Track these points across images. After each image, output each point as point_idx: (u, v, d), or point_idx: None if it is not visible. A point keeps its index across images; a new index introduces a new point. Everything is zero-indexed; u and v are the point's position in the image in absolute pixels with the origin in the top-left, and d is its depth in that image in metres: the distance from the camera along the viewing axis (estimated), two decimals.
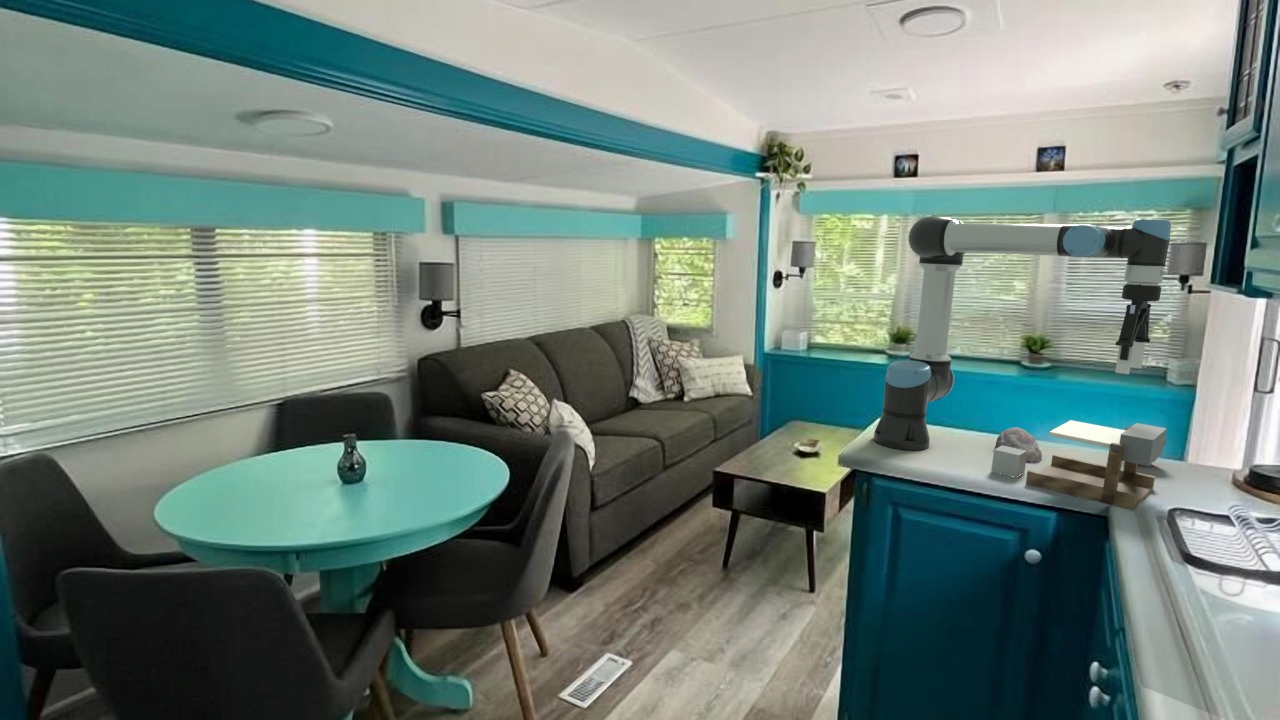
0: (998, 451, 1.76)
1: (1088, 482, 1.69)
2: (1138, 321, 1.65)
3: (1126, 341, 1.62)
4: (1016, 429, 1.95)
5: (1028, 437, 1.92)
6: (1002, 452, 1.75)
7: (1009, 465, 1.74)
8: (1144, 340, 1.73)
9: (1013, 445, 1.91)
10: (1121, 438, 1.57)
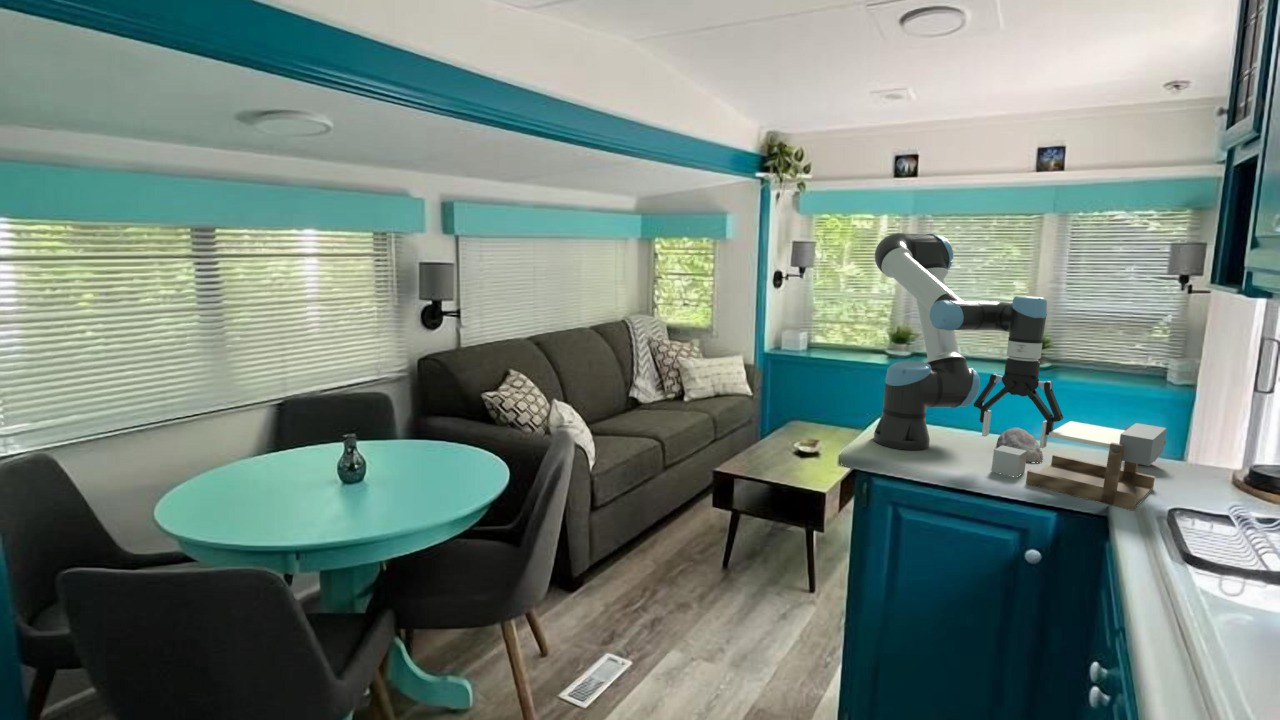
0: (998, 451, 1.76)
1: (1088, 482, 1.69)
2: None
3: None
4: (1017, 430, 1.95)
5: (1029, 438, 1.91)
6: (1002, 452, 1.75)
7: (1009, 465, 1.74)
8: (1046, 420, 1.69)
9: (1014, 445, 1.90)
10: (1121, 438, 1.57)
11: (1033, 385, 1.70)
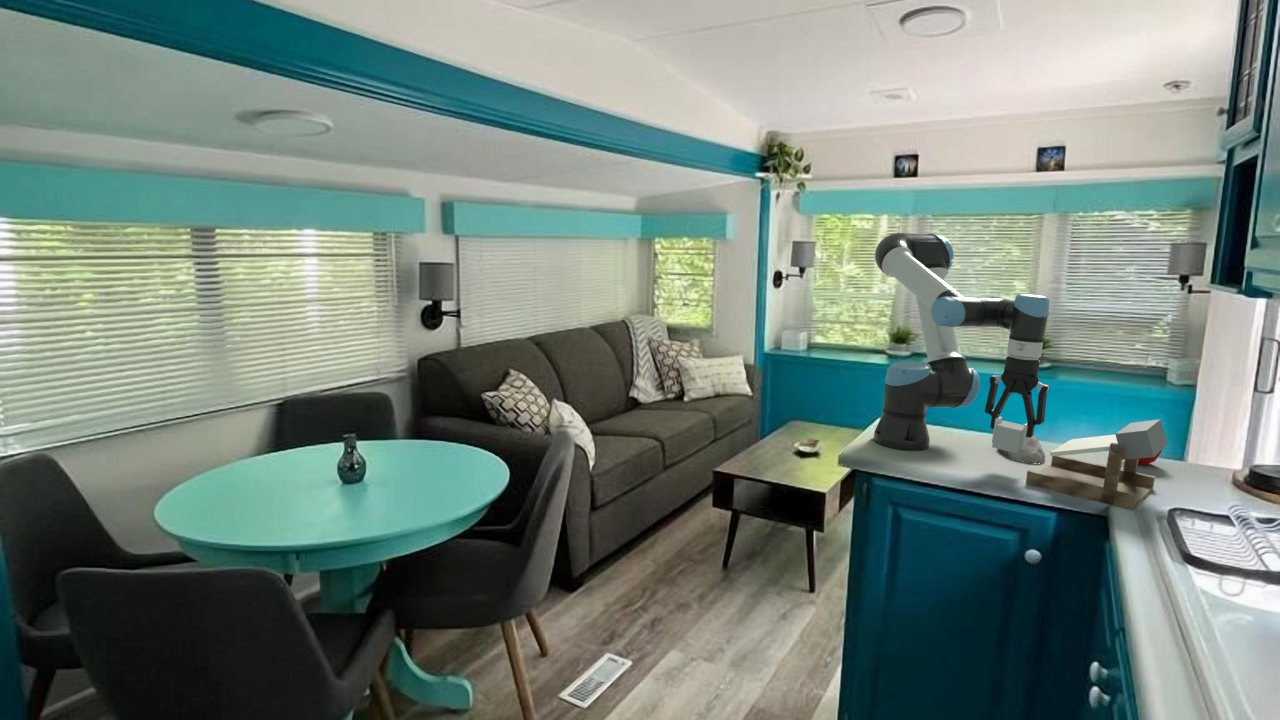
0: (999, 426, 1.75)
1: (1088, 482, 1.69)
2: None
3: None
4: None
5: (1031, 438, 1.90)
6: (1003, 427, 1.75)
7: (1010, 440, 1.74)
8: (1027, 421, 1.72)
9: None
10: (1117, 437, 1.57)
11: (1031, 384, 1.71)
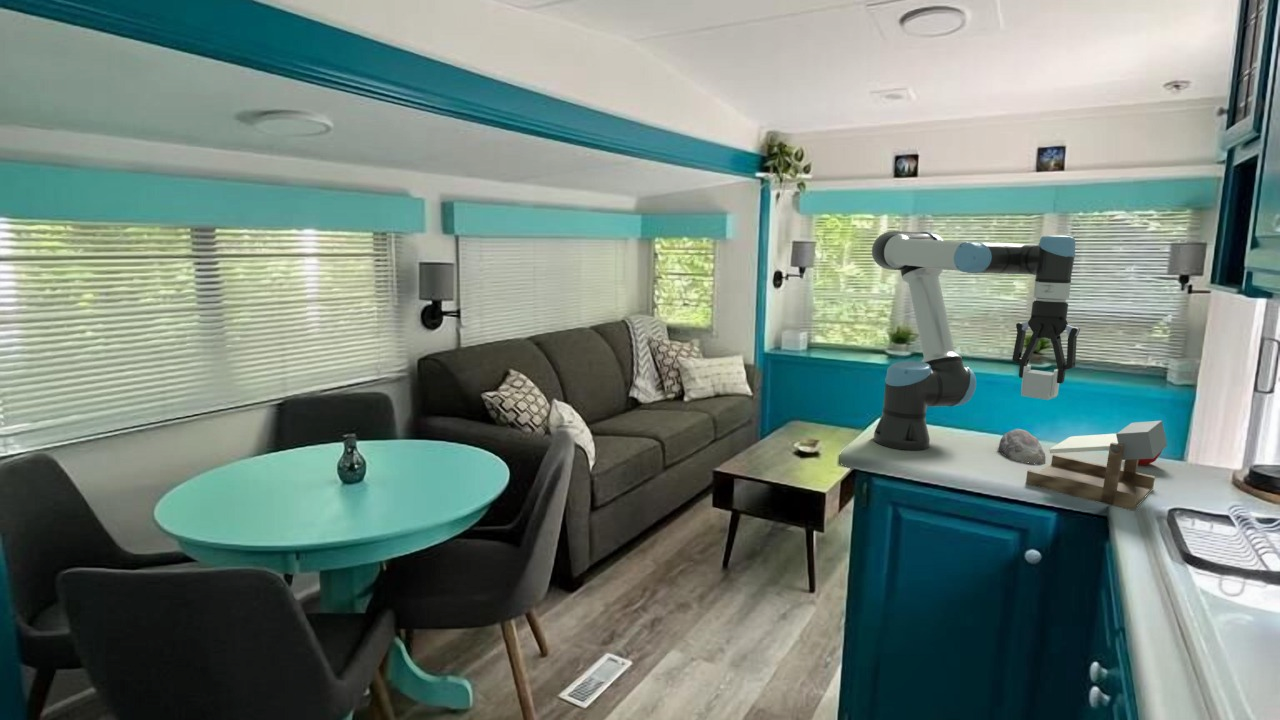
0: (1028, 373, 1.70)
1: (1088, 482, 1.69)
2: None
3: None
4: (1019, 431, 1.94)
5: (1032, 439, 1.90)
6: (1032, 374, 1.69)
7: (1040, 387, 1.68)
8: None
9: (1016, 447, 1.89)
10: (1118, 437, 1.57)
11: (1060, 327, 1.66)
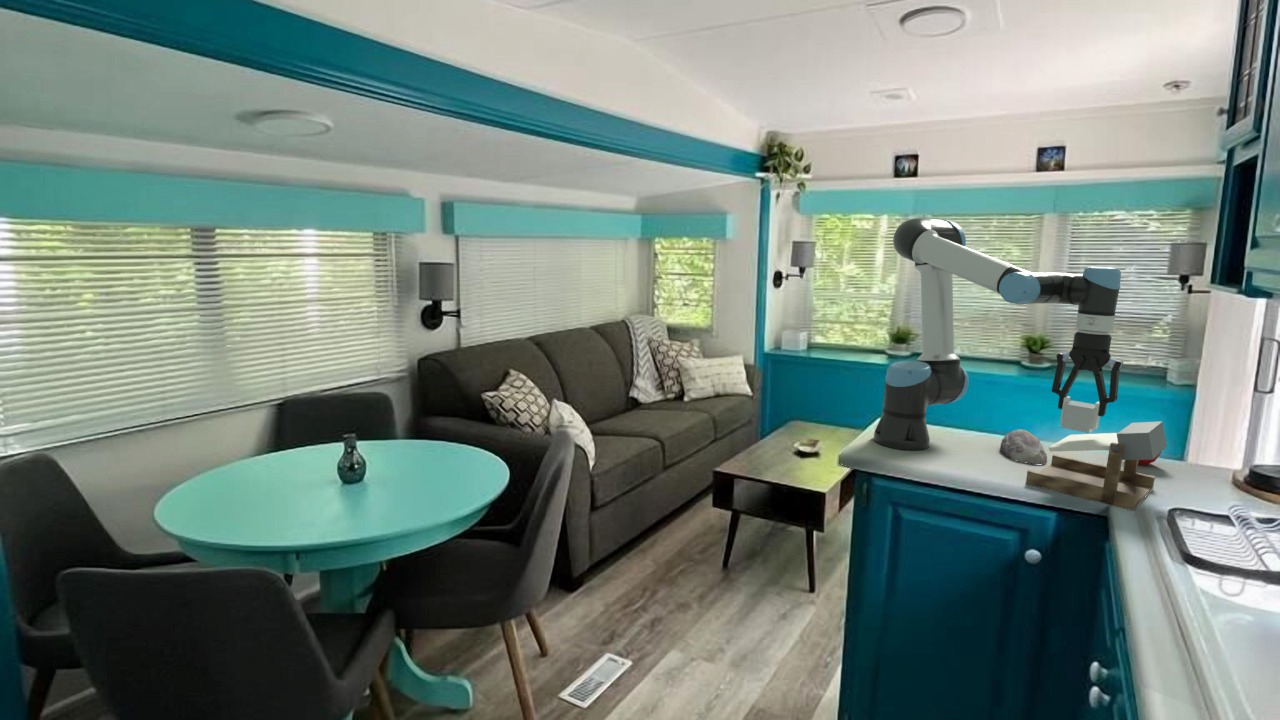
0: (1069, 405, 1.68)
1: (1088, 482, 1.69)
2: None
3: None
4: (1021, 431, 1.93)
5: (1033, 439, 1.90)
6: (1073, 406, 1.67)
7: (1081, 419, 1.66)
8: (1099, 400, 1.65)
9: (1018, 447, 1.89)
10: (1118, 437, 1.57)
11: (1103, 360, 1.64)
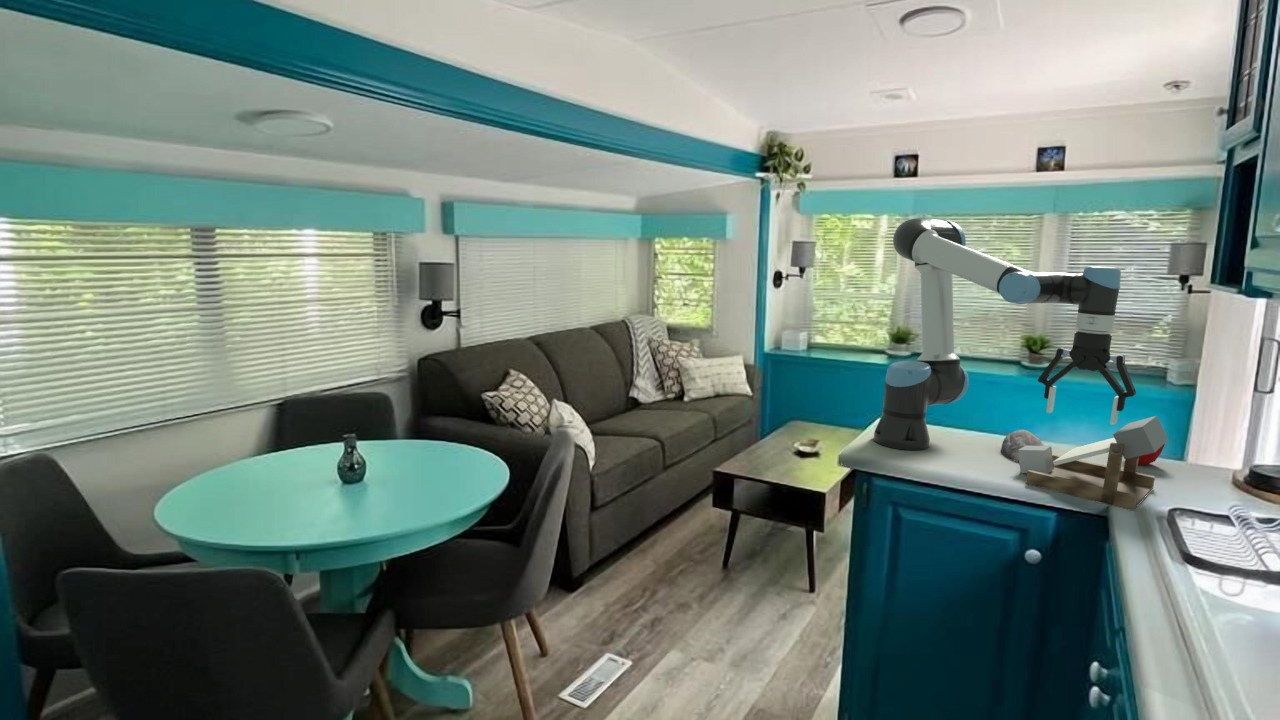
0: (1041, 472, 1.74)
1: (1088, 482, 1.69)
2: (1067, 365, 1.69)
3: None
4: (1022, 431, 1.93)
5: (1035, 440, 1.89)
6: None
7: (1027, 461, 1.76)
8: (1118, 395, 1.62)
9: (1019, 447, 1.88)
10: (1115, 438, 1.57)
11: (1104, 359, 1.63)
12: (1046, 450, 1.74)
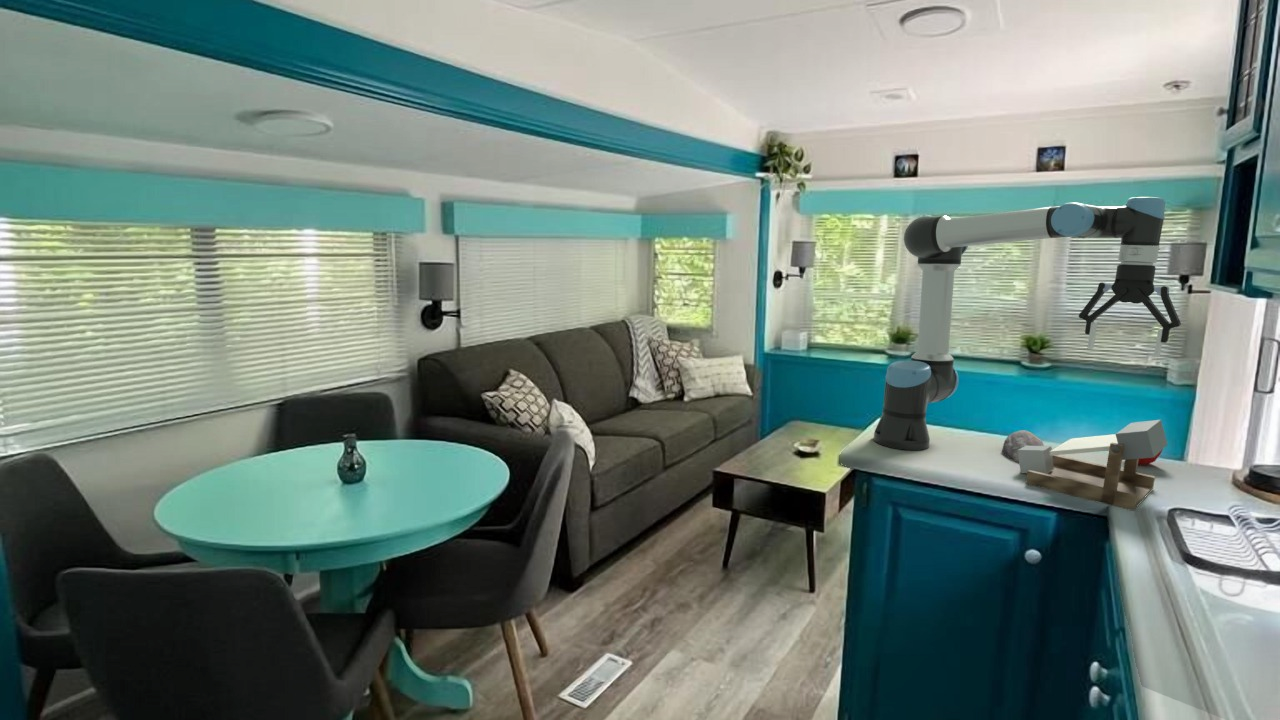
0: (1041, 472, 1.74)
1: (1088, 482, 1.69)
2: (1110, 299, 1.68)
3: None
4: (1024, 432, 1.92)
5: (1036, 440, 1.89)
6: None
7: (1027, 461, 1.76)
8: (1162, 326, 1.61)
9: None
10: (1117, 437, 1.57)
11: (1148, 291, 1.62)
12: (1046, 450, 1.74)
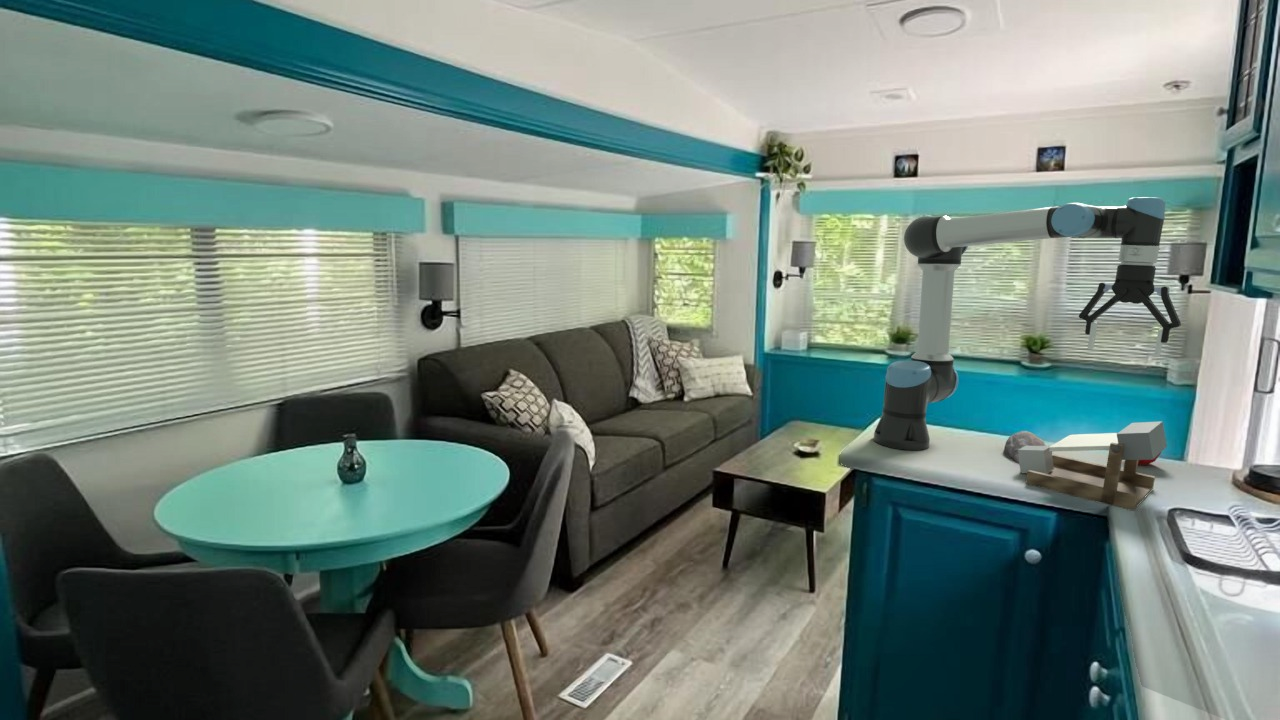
0: (1041, 472, 1.74)
1: (1088, 482, 1.69)
2: (1110, 299, 1.68)
3: None
4: (1025, 433, 1.91)
5: (1038, 441, 1.88)
6: None
7: (1027, 461, 1.76)
8: (1162, 326, 1.61)
9: None
10: (1118, 437, 1.57)
11: (1148, 291, 1.63)
12: (1046, 450, 1.74)
